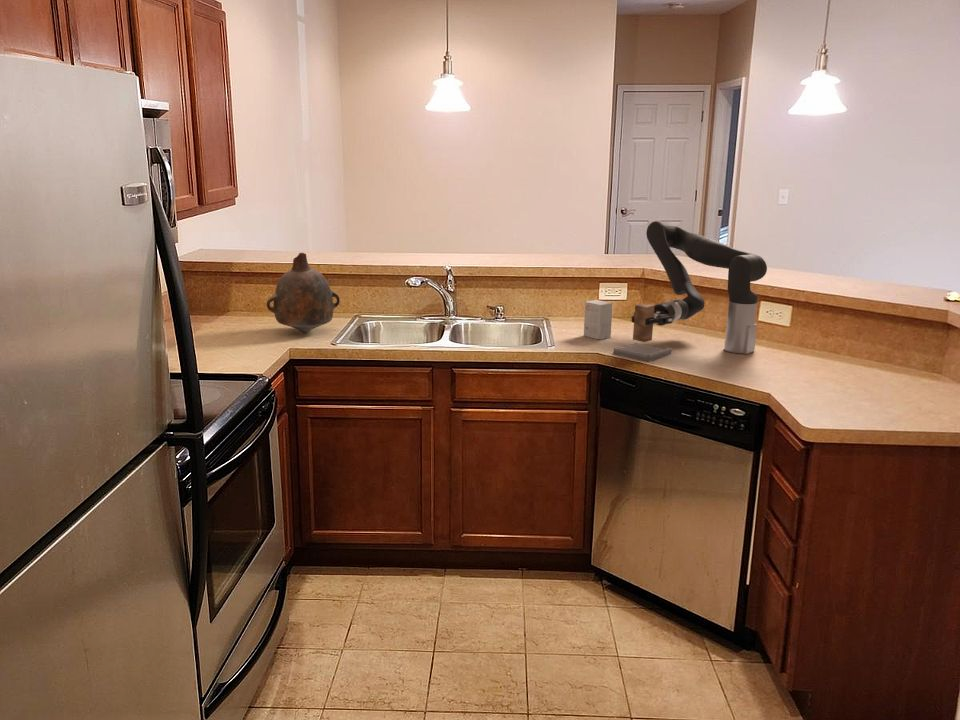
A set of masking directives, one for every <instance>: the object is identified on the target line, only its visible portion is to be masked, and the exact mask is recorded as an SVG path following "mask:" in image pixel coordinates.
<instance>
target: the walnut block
mask: <svg viewBox="0 0 960 720" xmlns="http://www.w3.org/2000/svg"><path fill="white" fill-rule="evenodd" d="M655 305H656V304H650V303H644V302H642V303H639V304H638V303H637V304H635V306H634V312H635V315H634V314H633V316H635V317H634V323H633V330H632V331H633V332H632V340H633V341H637V342H641V343H647V342H649V341H652V340H653V331H654V330H653V328H654V324H651V325H645V320H646V319H647V318H650V317H653V316H654V306H655Z"/></svg>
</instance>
